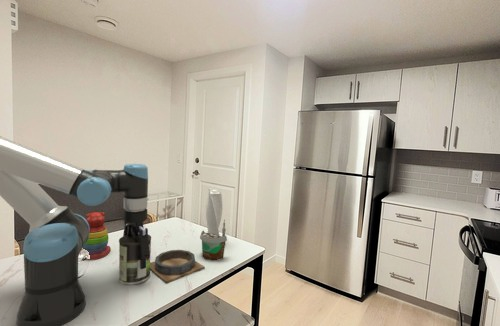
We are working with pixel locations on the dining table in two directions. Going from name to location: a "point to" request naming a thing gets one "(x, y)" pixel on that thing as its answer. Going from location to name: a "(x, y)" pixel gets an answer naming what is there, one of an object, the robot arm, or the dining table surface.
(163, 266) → the collar
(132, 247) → the coffee can
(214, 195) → the skyscraper
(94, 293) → the dining table surface
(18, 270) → the dining table surface
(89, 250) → the stacking bear
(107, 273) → the dining table surface
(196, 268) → the board
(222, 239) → the food container
